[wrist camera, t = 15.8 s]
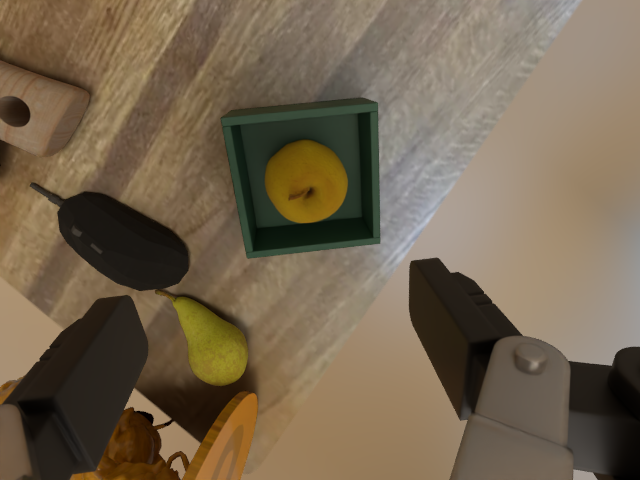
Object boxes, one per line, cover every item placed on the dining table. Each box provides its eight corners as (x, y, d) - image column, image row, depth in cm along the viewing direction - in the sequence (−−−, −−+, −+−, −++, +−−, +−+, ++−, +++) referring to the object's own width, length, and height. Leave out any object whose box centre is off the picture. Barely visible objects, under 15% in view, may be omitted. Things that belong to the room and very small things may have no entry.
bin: (230, 110, 31) (220, 117, 26) (363, 97, 32) (378, 102, 27) (252, 232, 36) (246, 258, 31) (367, 219, 36) (380, 243, 31)
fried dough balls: (65, 797, 21) (-259, 611, 24) (202, 593, 42) (18, 510, 46) (222, 391, 29) (-42, 297, 32) (270, 393, 50) (108, 337, 54)
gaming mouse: (48, 154, 31) (17, 165, 28) (202, 248, 36) (194, 268, 32) (17, 211, 33) (-15, 228, 29) (169, 293, 38) (157, 317, 34)
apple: (251, 170, 33) (242, 198, 26) (302, 116, 31) (308, 130, 24) (303, 217, 35) (308, 255, 28) (353, 168, 34) (372, 196, 26)
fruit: (268, 363, 37) (204, 261, 36) (218, 405, 34) (146, 295, 33) (250, 358, 42) (192, 268, 41) (205, 394, 39) (141, 298, 38)
